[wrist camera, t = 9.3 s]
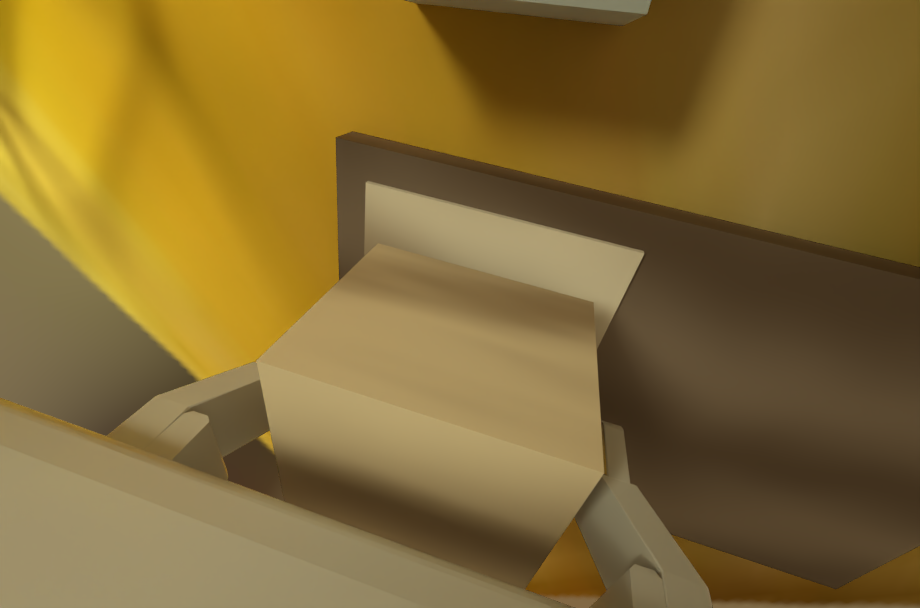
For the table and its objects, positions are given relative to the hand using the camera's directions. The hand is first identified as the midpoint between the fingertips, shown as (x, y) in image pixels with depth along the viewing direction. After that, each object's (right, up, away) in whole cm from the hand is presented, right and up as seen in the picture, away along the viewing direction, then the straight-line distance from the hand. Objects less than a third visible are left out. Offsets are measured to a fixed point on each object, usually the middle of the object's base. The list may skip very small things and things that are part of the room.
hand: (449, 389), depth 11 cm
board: (+6, -1, +3) cm, 7 cm away
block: (0, +1, +1) cm, 2 cm away
